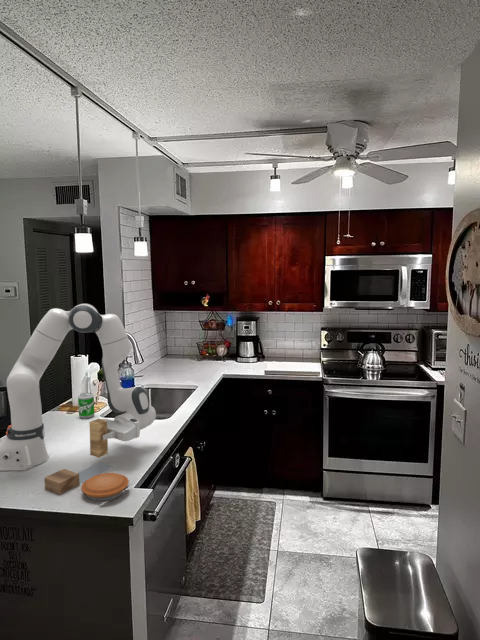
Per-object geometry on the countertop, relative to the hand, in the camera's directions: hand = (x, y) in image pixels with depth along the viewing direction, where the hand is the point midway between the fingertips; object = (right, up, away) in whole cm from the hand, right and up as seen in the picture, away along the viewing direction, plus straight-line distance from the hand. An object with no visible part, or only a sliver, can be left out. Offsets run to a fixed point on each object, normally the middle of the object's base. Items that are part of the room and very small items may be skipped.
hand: (96, 436), depth 168 cm
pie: (+8, -16, -15) cm, 24 cm away
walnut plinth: (-8, -14, -12) cm, 21 cm away
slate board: (-4, -14, -5) cm, 16 cm away
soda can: (-25, -6, +61) cm, 66 cm away
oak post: (0, -7, +2) cm, 8 cm away
